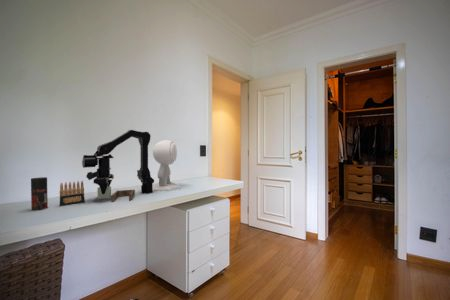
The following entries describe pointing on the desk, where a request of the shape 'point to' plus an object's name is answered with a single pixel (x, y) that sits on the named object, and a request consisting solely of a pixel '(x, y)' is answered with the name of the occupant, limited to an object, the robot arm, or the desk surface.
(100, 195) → the block
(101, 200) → the mat
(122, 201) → the desk surface
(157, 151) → the big headed doll
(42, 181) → the black red box
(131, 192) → the frame
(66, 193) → the ammunition clip
